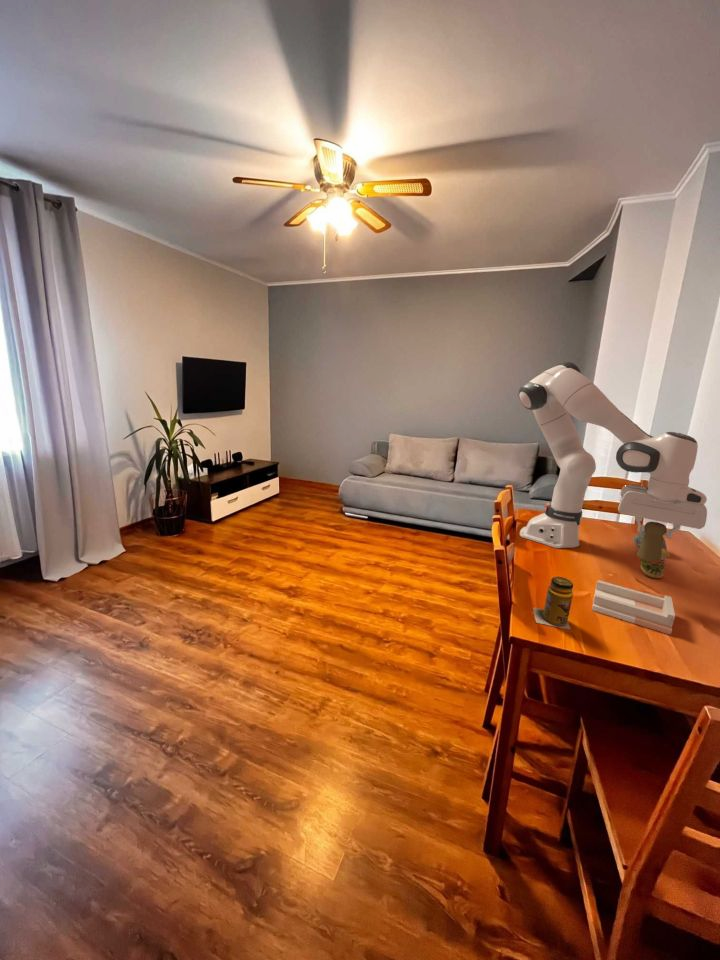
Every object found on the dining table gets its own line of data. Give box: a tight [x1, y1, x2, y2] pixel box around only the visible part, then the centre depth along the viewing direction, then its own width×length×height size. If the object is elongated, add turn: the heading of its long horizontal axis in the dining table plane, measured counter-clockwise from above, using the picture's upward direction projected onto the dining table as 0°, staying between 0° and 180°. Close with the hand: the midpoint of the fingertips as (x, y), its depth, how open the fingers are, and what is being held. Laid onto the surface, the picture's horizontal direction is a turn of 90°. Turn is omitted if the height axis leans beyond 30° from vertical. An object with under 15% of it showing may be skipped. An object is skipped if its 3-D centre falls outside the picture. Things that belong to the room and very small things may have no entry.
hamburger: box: [640, 548, 671, 579], centre depth 131 cm, size 8×7×12 cm
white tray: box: [591, 579, 676, 636], centre depth 110 cm, size 18×14×5 cm
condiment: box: [532, 576, 574, 630], centre depth 103 cm, size 7×8×12 cm
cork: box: [636, 521, 668, 562], centre depth 113 cm, size 6×6×11 cm
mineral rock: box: [632, 529, 668, 551], centre depth 152 cm, size 13×11×10 cm
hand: (653, 534), depth 113 cm, fingers closed on cork, 5 cm apart
